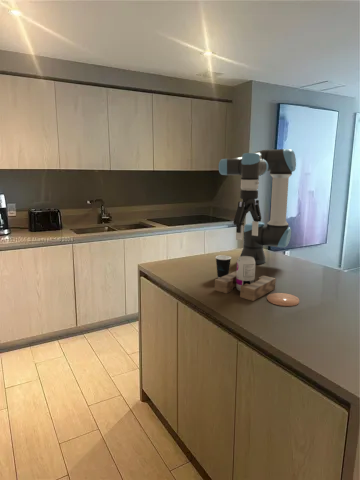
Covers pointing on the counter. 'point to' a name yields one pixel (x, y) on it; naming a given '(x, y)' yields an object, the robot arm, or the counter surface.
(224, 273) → the dixie cup
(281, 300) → the peach smooth rounded piece
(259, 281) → the walnut caddy
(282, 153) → the robot arm
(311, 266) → the counter surface
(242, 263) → the supplement can
